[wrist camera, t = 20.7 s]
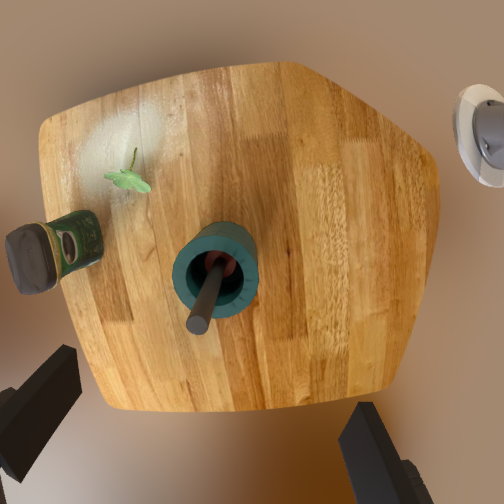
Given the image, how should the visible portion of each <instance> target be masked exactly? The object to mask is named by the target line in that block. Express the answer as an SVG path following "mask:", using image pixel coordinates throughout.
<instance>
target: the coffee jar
mask: <svg viewBox="0 0 504 504" xmlns="http://www.w3.org/2000/svg"><path fill="white" fill-rule="evenodd" d="M5 247H6V253H7V258H8V262H9V266H10V270H11V273H12V276H13V280H14V283H15V285H16V287H17V288H18V290H19V292H20V293H21V294H25V295H31V294H37V293H41V292H44V291H47V290H51V289H53V288H54V287H55V286H57V284H58V283H59V282H60V280H61V278H63V277H64V276H65V275H67V274H69V273H71V272H73V271H76V270H79V269H81V268H84V267H87V266H89V265H92V264H94V263H96V262H98V261H99V260H100V259H101V257H102V255H103V241H102V235H101V230H100V226H99V223H98V220H97V218H96V216H95V214H94V213H92V212H91V211H89V210H81V211H76V212H72V213H70V214H67V215H65V216H63V217H61V218H58V219H56V220H54V221H51V222H49V223H45V224H44V223H41V222H32V223H28V224H25V225H23V226H21V227H19V228H18V229H16V230H14V231H12V232H11V233H9V234H8V235H7V236H6V241H5Z"/></svg>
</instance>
